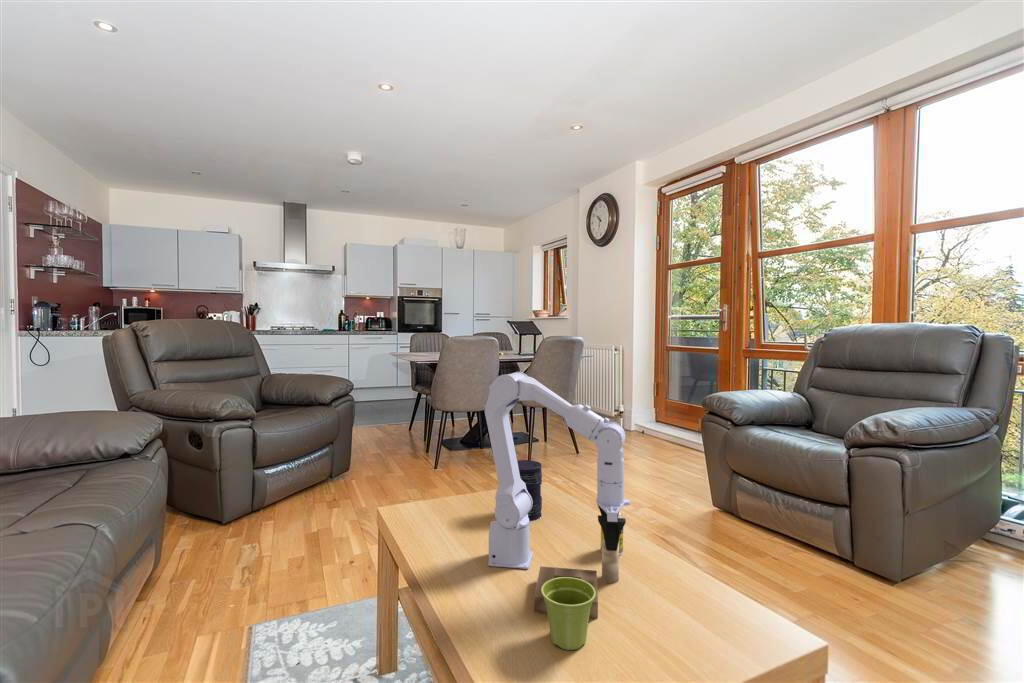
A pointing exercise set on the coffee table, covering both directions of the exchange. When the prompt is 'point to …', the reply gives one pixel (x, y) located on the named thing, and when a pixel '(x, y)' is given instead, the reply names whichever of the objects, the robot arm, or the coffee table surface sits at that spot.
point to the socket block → (553, 572)
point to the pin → (610, 564)
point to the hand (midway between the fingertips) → (610, 542)
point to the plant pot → (568, 610)
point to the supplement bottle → (619, 539)
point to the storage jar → (532, 485)
